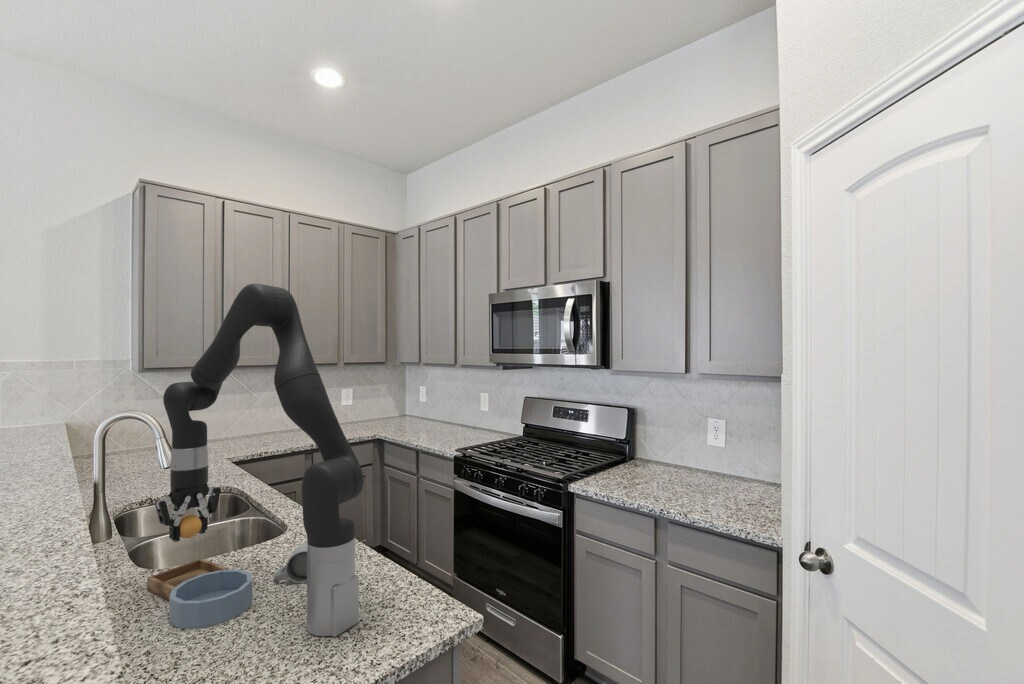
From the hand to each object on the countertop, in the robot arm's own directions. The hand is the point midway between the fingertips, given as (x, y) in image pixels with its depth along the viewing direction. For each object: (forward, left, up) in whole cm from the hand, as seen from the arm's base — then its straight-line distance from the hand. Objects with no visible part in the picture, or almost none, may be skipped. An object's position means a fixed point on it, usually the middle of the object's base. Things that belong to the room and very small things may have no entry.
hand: (189, 536), depth 116 cm
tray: (0, 0, -12) cm, 12 cm away
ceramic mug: (-19, -16, -12) cm, 27 cm away
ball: (0, 0, +2) cm, 2 cm away
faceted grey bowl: (-16, +3, -12) cm, 20 cm away
